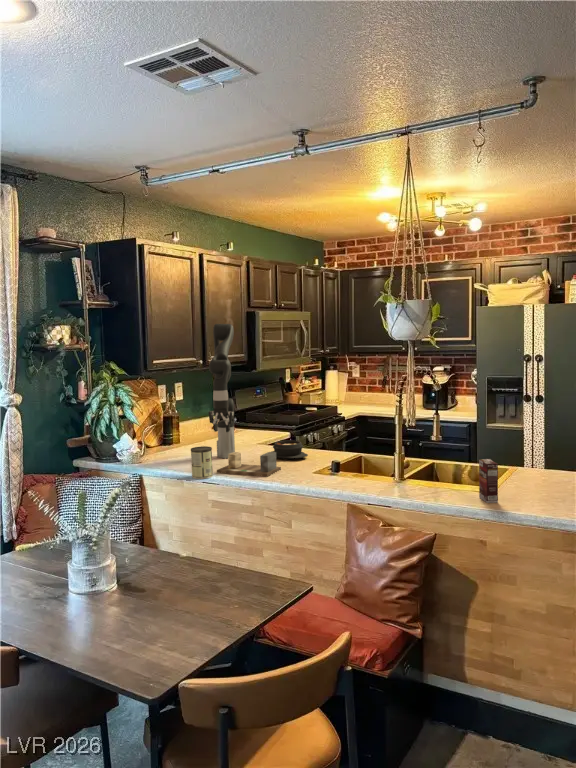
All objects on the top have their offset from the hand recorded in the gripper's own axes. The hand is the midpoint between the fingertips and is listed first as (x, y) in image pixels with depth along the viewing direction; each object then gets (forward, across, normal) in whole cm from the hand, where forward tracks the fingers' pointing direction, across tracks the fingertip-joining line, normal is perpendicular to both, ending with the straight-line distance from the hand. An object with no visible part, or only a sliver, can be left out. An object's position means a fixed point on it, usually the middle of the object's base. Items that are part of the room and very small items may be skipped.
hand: (221, 431), depth 314 cm
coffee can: (+20, -2, -17) cm, 26 cm away
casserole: (+20, +20, +38) cm, 47 cm away
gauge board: (+20, +15, 0) cm, 25 cm away
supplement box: (+20, +132, -18) cm, 135 cm away
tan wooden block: (+18, +7, -2) cm, 19 cm away
